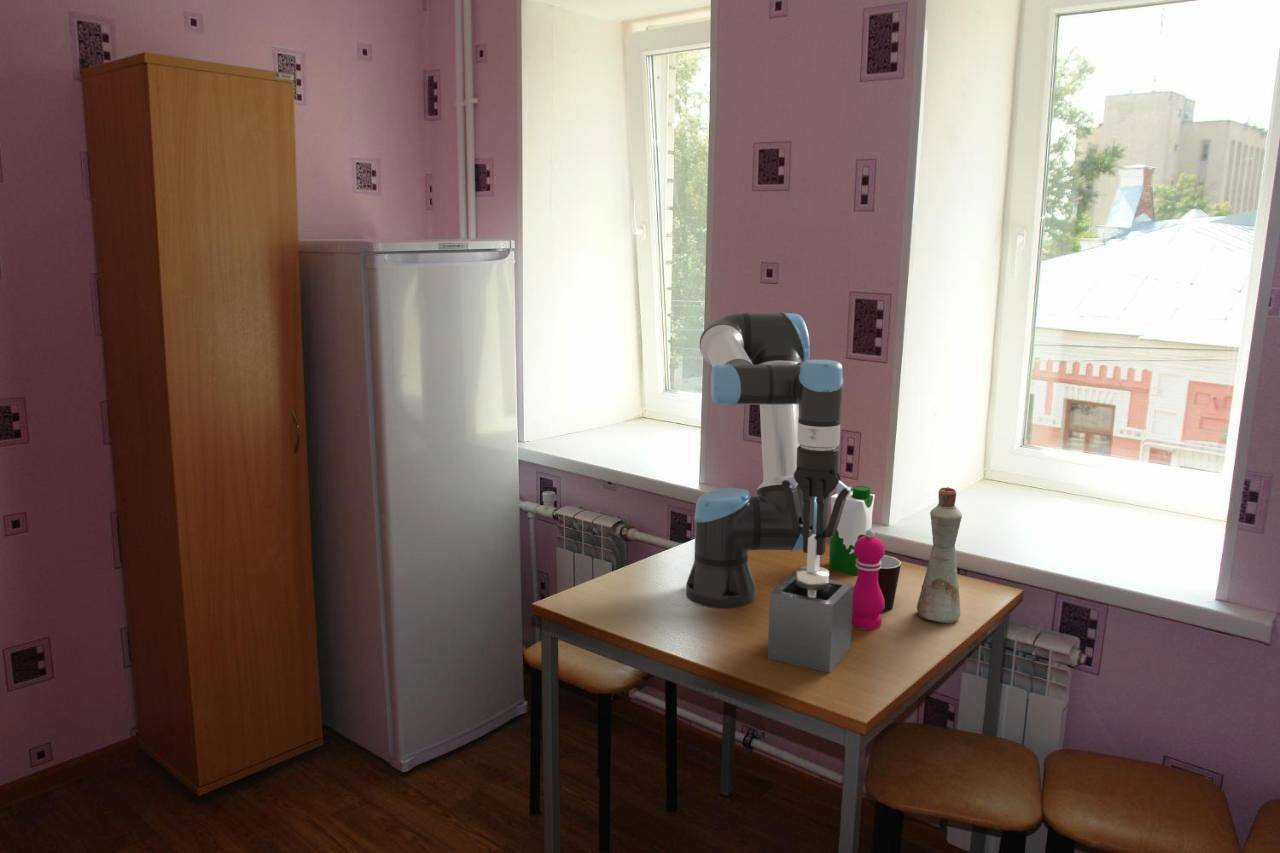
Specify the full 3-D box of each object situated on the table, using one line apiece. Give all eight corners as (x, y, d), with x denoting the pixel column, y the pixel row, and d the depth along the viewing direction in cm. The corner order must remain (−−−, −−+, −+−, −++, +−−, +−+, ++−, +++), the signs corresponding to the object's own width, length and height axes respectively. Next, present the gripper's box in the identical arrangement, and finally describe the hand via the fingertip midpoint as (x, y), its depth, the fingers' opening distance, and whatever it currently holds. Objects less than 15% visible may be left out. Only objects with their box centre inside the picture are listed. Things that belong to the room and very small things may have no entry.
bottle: (910, 620, 194) (919, 488, 189) (922, 605, 202) (931, 478, 196) (953, 629, 190) (963, 494, 184) (964, 614, 197) (974, 484, 192)
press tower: (767, 658, 176) (769, 592, 174) (791, 635, 187) (793, 572, 184) (829, 673, 170) (832, 605, 168) (850, 648, 181) (853, 584, 178)
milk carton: (859, 577, 218) (863, 494, 214) (823, 569, 223) (826, 487, 219) (874, 567, 225) (878, 485, 221) (838, 559, 230) (842, 479, 226)
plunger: (781, 648, 177) (784, 574, 174) (797, 633, 184) (800, 561, 181) (823, 658, 173) (826, 582, 170) (837, 642, 180) (840, 568, 177)
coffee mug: (899, 615, 196) (902, 569, 194) (857, 611, 198) (859, 566, 196) (896, 594, 208) (898, 551, 206) (856, 591, 209) (858, 548, 207)
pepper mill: (844, 616, 196) (848, 523, 192) (879, 616, 196) (884, 524, 192) (850, 630, 189) (855, 535, 185) (887, 631, 189) (892, 535, 185)
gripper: (776, 446, 170) (772, 570, 175) (846, 454, 164) (840, 583, 169) (791, 438, 177) (787, 558, 181) (859, 446, 170) (853, 570, 175)
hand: (813, 570), depth 175 cm, fingers closed
